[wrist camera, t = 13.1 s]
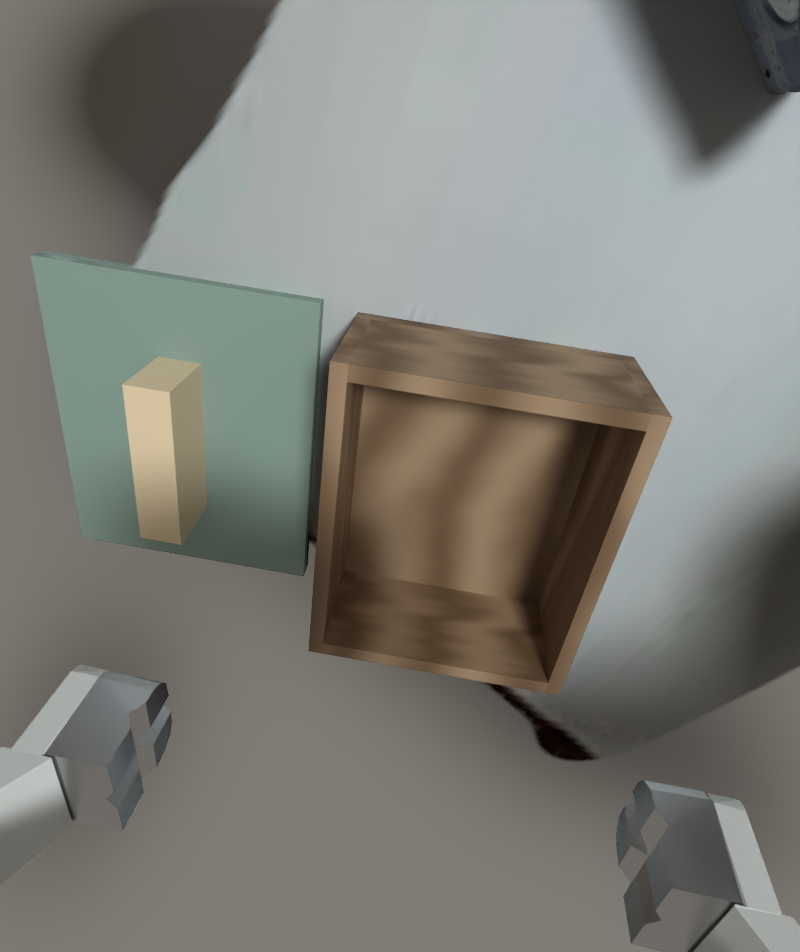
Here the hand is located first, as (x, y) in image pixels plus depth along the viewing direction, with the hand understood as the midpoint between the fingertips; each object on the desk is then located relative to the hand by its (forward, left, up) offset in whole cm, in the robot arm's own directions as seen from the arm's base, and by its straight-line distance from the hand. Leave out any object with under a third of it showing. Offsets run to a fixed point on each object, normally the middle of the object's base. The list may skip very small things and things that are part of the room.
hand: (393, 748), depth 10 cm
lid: (+18, +14, -33) cm, 40 cm away
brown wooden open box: (-3, +14, -32) cm, 35 cm away
